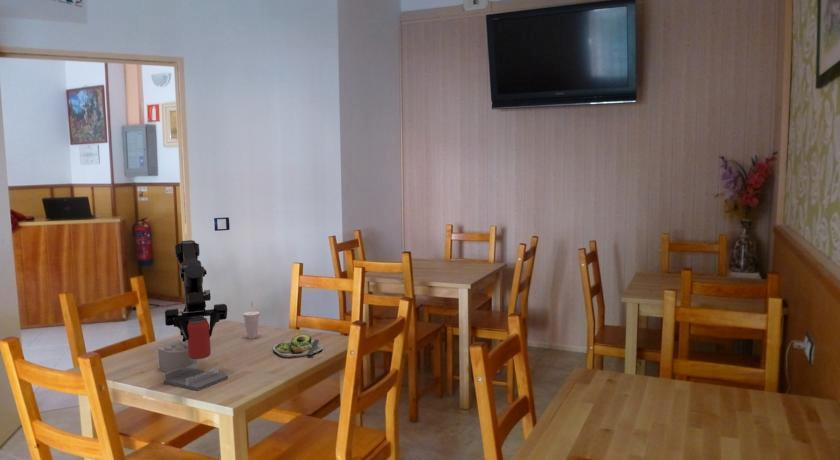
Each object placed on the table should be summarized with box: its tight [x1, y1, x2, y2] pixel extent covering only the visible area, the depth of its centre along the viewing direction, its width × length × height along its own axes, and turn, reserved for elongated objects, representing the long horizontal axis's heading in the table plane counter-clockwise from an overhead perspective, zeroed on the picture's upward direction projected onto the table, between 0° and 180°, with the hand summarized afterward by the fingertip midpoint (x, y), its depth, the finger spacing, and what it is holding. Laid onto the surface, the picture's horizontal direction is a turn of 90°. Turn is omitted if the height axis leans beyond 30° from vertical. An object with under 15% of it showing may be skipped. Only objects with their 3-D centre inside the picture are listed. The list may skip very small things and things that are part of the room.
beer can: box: [187, 317, 212, 360], centre depth 195 cm, size 7×7×12 cm
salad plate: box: [272, 333, 323, 359], centre depth 223 cm, size 19×18×5 cm
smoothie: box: [242, 301, 261, 339], centre depth 242 cm, size 6×6×14 cm
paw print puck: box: [157, 339, 198, 373], centre depth 206 cm, size 10×13×9 cm
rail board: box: [162, 363, 229, 392], centre depth 193 cm, size 12×15×3 cm
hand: (199, 337), depth 194 cm, fingers closed on beer can, 7 cm apart
